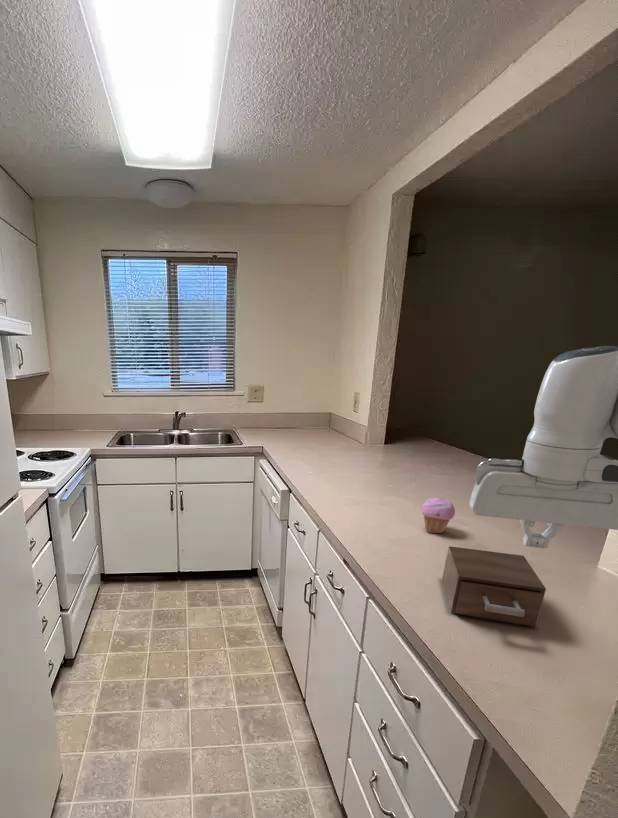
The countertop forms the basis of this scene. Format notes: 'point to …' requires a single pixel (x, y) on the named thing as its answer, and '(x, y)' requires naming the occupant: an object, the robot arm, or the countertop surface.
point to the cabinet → (487, 573)
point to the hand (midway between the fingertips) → (534, 545)
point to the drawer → (498, 602)
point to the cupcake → (437, 514)
